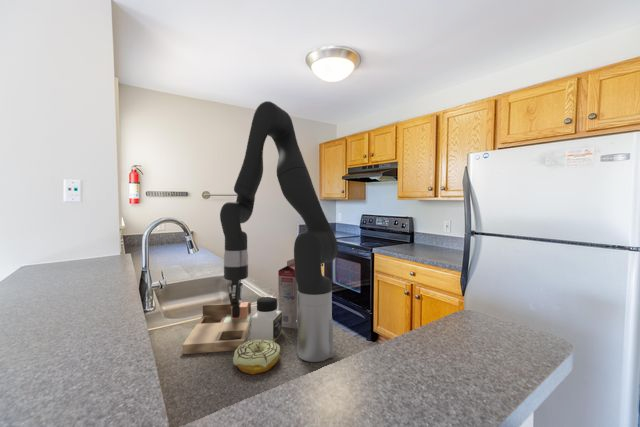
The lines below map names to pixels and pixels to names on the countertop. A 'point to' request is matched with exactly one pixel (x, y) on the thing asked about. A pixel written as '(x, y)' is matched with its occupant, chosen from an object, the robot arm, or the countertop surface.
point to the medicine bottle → (266, 320)
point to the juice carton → (288, 295)
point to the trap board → (217, 330)
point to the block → (242, 311)
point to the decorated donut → (256, 356)
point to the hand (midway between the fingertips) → (236, 316)
